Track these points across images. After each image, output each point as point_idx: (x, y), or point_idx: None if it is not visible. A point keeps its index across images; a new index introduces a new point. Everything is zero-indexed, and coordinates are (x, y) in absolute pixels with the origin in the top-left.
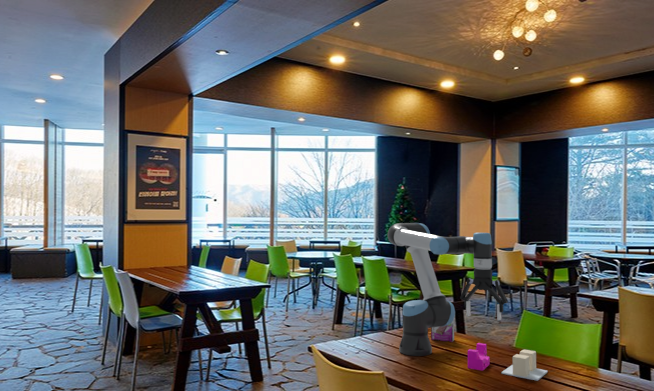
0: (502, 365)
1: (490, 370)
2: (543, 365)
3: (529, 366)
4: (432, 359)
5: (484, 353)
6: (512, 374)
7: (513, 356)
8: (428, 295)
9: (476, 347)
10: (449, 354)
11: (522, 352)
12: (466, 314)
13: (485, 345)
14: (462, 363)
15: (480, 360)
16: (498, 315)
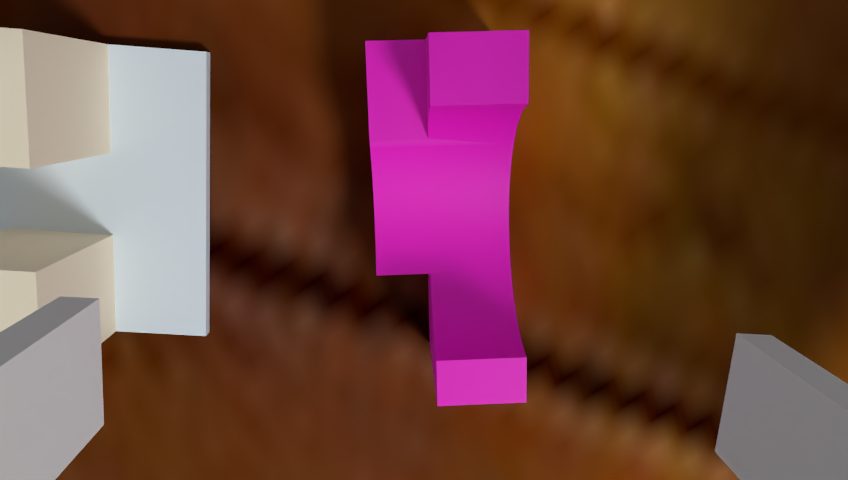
0: (281, 289)
1: (316, 90)
2: None
3: (12, 236)
4: (839, 116)
5: (431, 305)
6: (111, 44)
7: (16, 40)
8: None
9: (519, 336)
10: None
11: (6, 268)
12: (794, 351)
13: (436, 368)
14: (578, 151)
15: (387, 41)
16: (10, 332)
